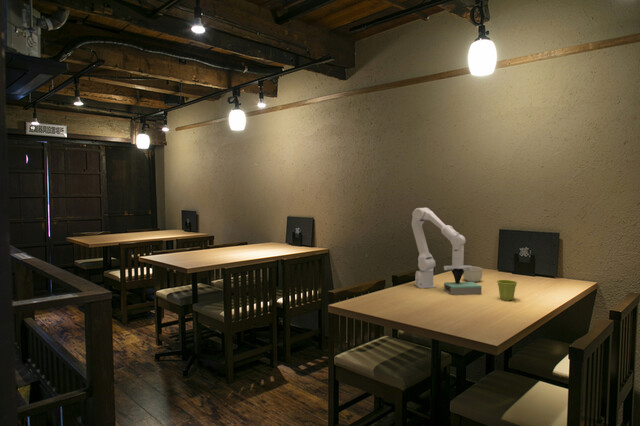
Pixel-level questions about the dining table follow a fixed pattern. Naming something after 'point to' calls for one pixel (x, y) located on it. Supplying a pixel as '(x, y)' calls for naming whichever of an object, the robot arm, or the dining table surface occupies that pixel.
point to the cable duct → (462, 290)
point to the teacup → (473, 274)
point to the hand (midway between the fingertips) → (457, 283)
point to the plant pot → (506, 289)
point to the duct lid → (462, 285)
